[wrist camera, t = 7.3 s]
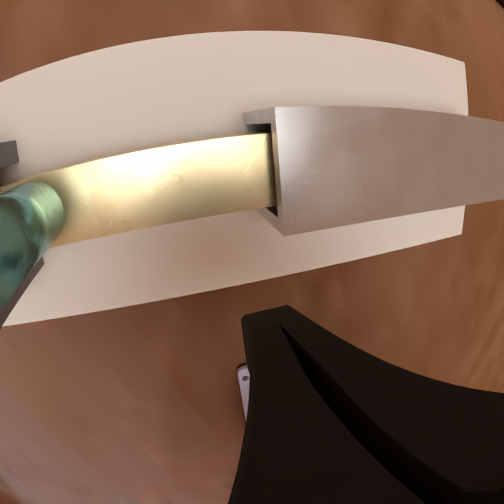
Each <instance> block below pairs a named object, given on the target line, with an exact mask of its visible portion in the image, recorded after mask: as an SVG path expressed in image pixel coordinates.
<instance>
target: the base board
mask: <svg viewBox="0 0 504 504" xmlns="http://www.w3.org/2000/svg"><path fill="white" fill-rule="evenodd" d="M293 106H367V107H388V108H402V109H415V110H425V111H434V112H443V113H451V114H458V115H465V116H468V102H467V86H466V74H465V64H464V62H461V61H458V60H455V59H452V58H448V57H445V56H441V55H438V54H434V53H430V52H426V51H423V50H418V49H414V48H410V47H405V46H401V45H396V44H391V43H386V42H380V41H374V40H368V39H362V38H355V37H347V36H339V35H330V34H319V33H306V32H288V31H232V32H213V33H200V34H189V35H180V36H172V37H164V38H157V39H151V40H145V41H139V42H133V43H128V44H123V45H118V46H114V47H109V48H105V49H100V50H96V51H92V52H88V53H85V54H81V55H77V56H74V57H70V58H67V59H63V60H60V61H57V62H54V63H51V64H48V65H45V66H42V67H39V68H36V69H33V70H31V71H28V72H25V73H23V74H20V75H17V76H15V77H12V78H10V79H7V80H5V81H3V82H0V143H1V142H7V141H14V140H16V144H17V151H18V157H19V162H18V163H15V164H12V165H9V166H6V167H3V168H1V169H0V184H3V183H6V182H9V181H12V180H15V179H18V178H22V177H25V176H28V175H31V174H35V173H38V172H41V171H45V170H48V169H52V168H56V167H59V166H63V165H67V164H70V163H74V162H78V161H82V160H86V159H91V158H95V157H99V156H103V155H108V154H112V153H117V152H122V151H127V150H132V149H137V148H142V147H147V146H152V145H158V144H164V143H170V142H176V141H182V140H189V139H196V138H203V137H210V136H218V135H226V134H235V133H244V132H245V131H244V121H243V113H244V112H249V111H255V110H261V109H267V108H274V107H293ZM464 209H465V205H464V206H458V207H452V208H446V209H440V210H434V211H428V212H422V213H416V214H410V215H404V216H398V217H393V218H387V219H381V220H375V221H369V222H364V223H358V224H352V225H346V226H341V227H335V228H329V229H324V230H318V231H312V232H307V233H301V234H295V235H290V236H283V235H282V234H281V233H280V232H279V231H278V230H276V229H275V228H274V227H273V226H272V225H271V224H270V223H269V222H268V221H267V220H266V219H265V218H264V217H263V216H261V215H260V214H259V213H258V212H257V211H256V210H255V209H252V210H246V211H240V212H233V213H227V214H221V215H215V216H210V217H204V218H198V219H192V220H187V221H181V222H176V223H170V224H165V225H159V226H154V227H149V228H144V229H138V230H133V231H128V232H123V233H118V234H113V235H108V236H103V237H99V238H94V239H89V240H84V241H80V242H75V243H70V244H66V245H61V246H57V247H52V248H48V250H47V251H46V252H45V253H44V255H43V256H42V258H43V261H44V265H43V267H42V268H41V269H40V271H39V272H38V273H37V275H36V276H35V278H34V279H33V280H32V282H31V283H30V285H29V286H28V288H27V289H26V290H25V292H24V293H23V295H22V296H21V298H20V299H19V301H18V302H17V304H16V305H15V307H14V308H13V310H12V311H11V313H10V315H9V316H8V318H7V319H6V321H5V322H4V324H3V326H8V325H15V324H22V323H29V322H35V321H42V320H48V319H54V318H61V317H67V316H73V315H79V314H85V313H91V312H97V311H103V310H108V309H114V308H120V307H126V306H131V305H137V304H142V303H148V302H153V301H159V300H164V299H169V298H175V297H180V296H185V295H191V294H196V293H201V292H206V291H211V290H216V289H221V288H226V287H231V286H236V285H241V284H246V283H251V282H256V281H261V280H265V279H270V278H275V277H280V276H284V275H289V274H294V273H298V272H303V271H307V270H312V269H317V268H321V267H326V266H330V265H335V264H339V263H343V262H348V261H352V260H357V259H361V258H365V257H370V256H374V255H378V254H382V253H387V252H391V251H395V250H399V249H403V248H408V247H412V246H416V245H420V244H424V243H428V242H432V241H436V240H440V239H444V238H448V237H452V236H456V235H460V234H462V226H463V218H464Z"/></svg>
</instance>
